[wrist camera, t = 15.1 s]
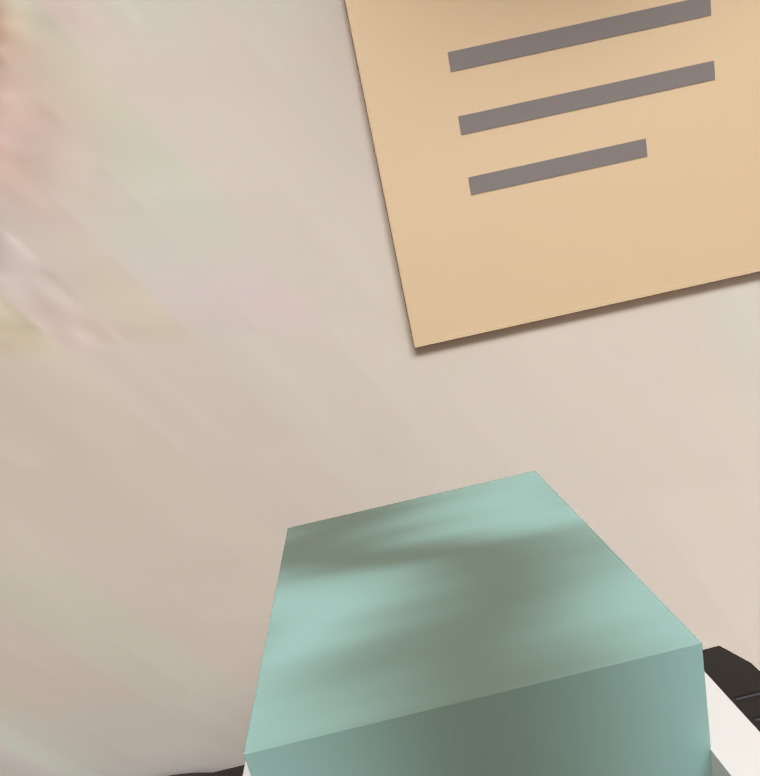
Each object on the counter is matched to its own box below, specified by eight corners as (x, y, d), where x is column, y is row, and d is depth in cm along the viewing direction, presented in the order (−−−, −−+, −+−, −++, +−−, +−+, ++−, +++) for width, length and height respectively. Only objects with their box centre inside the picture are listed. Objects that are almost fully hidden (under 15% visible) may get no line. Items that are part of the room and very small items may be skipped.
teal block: (345, 733, 14) (350, 1068, 8) (288, 528, 13) (243, 755, 7) (567, 678, 14) (729, 970, 8) (535, 470, 13) (701, 643, 7)
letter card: (413, 346, 20) (415, 347, 20) (313, -154, 17) (313, -162, 16) (873, 244, 20) (881, 244, 20) (875, -274, 17) (886, -284, 16)
